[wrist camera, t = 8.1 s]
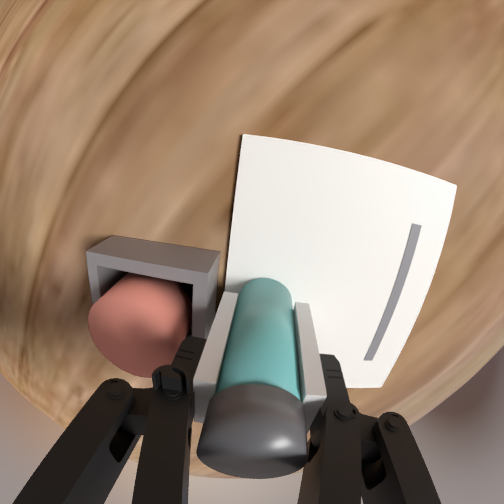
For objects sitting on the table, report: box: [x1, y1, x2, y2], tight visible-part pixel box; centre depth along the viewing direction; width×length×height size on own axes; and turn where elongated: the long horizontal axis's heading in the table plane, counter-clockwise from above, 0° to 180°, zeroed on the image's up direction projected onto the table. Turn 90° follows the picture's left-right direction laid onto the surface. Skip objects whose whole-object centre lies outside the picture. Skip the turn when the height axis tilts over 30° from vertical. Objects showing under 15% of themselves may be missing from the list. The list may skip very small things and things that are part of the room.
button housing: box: [86, 235, 220, 339], centre depth 15 cm, size 7×7×3 cm
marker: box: [197, 278, 308, 479], centre depth 11 cm, size 3×3×10 cm
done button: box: [88, 272, 192, 378], centre depth 13 cm, size 5×5×3 cm
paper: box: [225, 134, 457, 388], centre depth 15 cm, size 16×13×1 cm
